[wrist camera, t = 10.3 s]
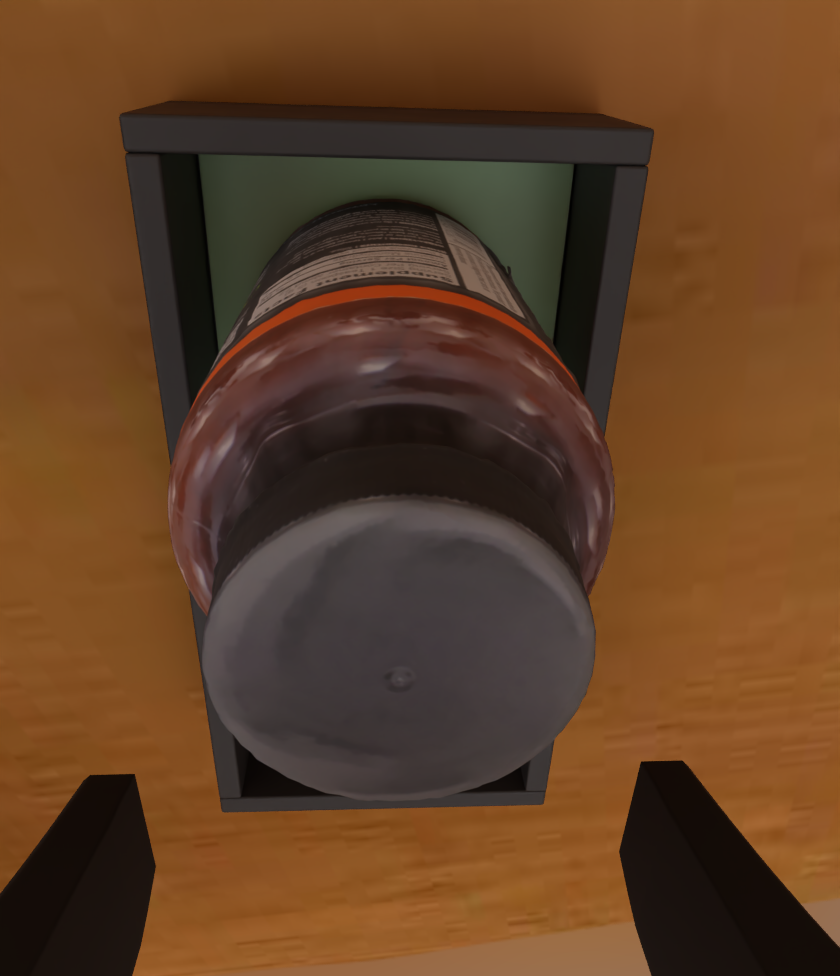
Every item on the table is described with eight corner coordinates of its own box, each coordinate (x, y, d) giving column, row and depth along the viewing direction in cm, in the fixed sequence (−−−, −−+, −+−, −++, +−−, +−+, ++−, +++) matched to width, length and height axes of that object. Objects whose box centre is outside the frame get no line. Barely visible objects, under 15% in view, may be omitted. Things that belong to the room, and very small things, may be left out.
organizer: (523, 712, 25) (544, 806, 22) (240, 718, 24) (221, 813, 21) (603, 113, 16) (656, 128, 13) (167, 100, 16) (117, 112, 13)
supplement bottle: (501, 449, 19) (635, 869, 9) (259, 443, 19) (132, 875, 9) (531, 196, 16) (771, 420, 6) (244, 182, 16) (32, 400, 6)
